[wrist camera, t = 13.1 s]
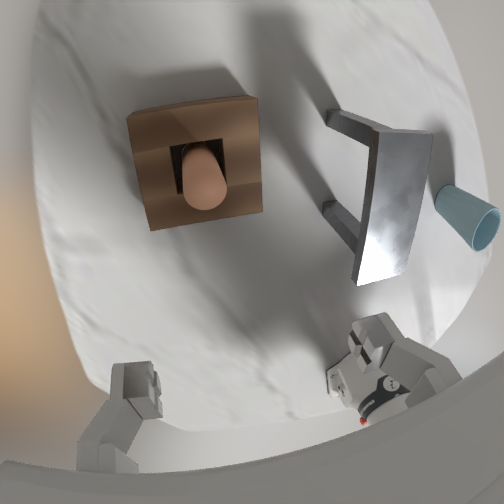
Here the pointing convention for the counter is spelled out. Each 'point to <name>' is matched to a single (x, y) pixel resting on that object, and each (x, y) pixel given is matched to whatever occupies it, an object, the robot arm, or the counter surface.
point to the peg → (202, 177)
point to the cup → (468, 216)
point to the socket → (188, 131)
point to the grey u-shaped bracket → (382, 196)
